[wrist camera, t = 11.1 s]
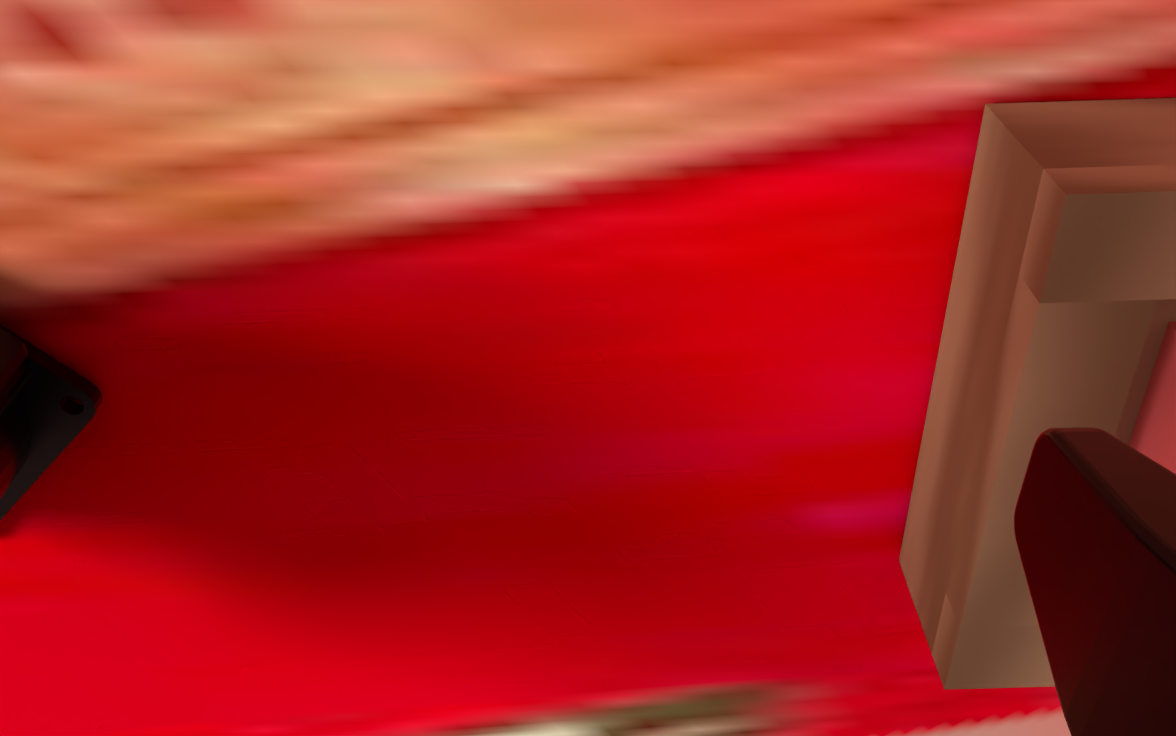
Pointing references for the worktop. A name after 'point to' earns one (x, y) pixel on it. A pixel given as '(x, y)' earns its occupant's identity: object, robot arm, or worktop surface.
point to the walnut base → (1035, 355)
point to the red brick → (1159, 408)
